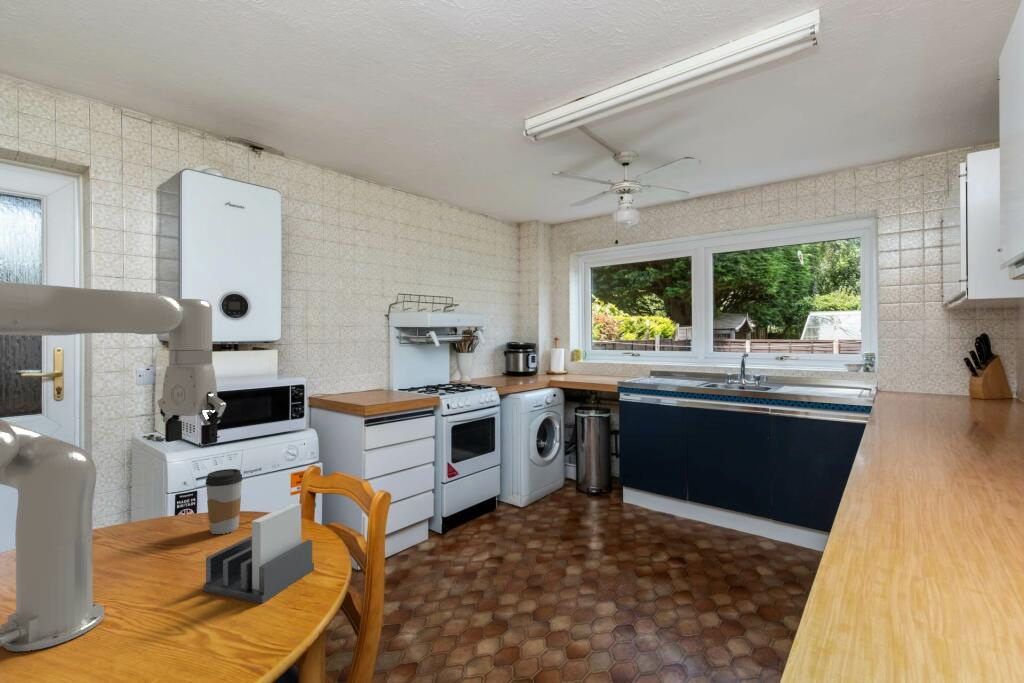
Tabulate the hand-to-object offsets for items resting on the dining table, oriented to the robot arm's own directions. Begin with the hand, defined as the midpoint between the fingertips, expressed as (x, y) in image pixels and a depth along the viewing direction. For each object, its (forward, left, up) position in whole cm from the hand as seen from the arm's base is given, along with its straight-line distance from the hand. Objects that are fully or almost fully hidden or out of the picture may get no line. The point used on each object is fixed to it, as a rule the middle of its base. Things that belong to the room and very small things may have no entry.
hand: (191, 442), depth 100 cm
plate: (+4, -18, -27) cm, 33 cm away
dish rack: (+4, -14, -28) cm, 32 cm away
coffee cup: (+22, +16, -28) cm, 39 cm away
